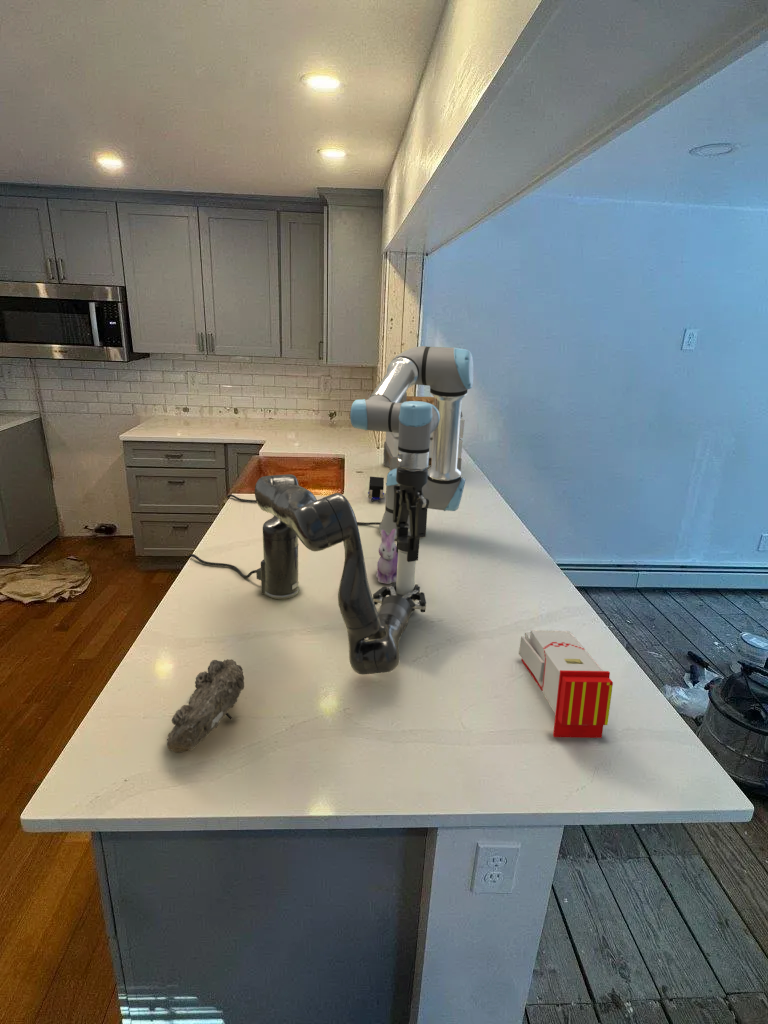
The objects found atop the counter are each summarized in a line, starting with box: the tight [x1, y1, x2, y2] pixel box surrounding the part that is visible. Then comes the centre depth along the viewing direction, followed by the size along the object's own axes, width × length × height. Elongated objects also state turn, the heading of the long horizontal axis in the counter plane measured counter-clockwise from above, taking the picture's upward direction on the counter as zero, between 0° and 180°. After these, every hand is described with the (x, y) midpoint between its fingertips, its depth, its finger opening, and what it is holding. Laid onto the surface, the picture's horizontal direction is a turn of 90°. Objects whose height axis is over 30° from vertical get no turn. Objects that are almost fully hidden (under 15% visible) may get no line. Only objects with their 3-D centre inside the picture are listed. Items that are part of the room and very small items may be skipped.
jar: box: [396, 549, 417, 615], centre depth 146 cm, size 5×5×20 cm
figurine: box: [375, 529, 398, 585], centre depth 164 cm, size 9×10×15 cm
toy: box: [518, 629, 614, 739], centre depth 118 cm, size 12×13×30 cm
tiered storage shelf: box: [383, 391, 465, 473], centre depth 268 cm, size 34×33×41 cm
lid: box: [396, 535, 410, 552], centre depth 142 cm, size 5×5×2 cm
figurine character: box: [367, 476, 385, 503], centre depth 235 cm, size 7×8×15 cm
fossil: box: [166, 658, 245, 754], centre depth 106 cm, size 22×10×15 cm
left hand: (406, 586), depth 149 cm, fingers closed on jar, 4 cm apart
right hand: (406, 555), depth 144 cm, fingers closed on lid, 5 cm apart
